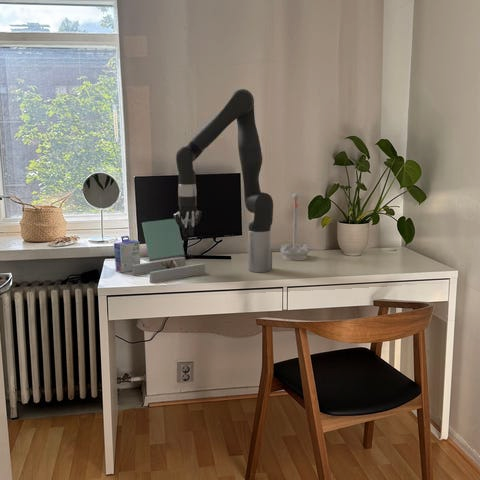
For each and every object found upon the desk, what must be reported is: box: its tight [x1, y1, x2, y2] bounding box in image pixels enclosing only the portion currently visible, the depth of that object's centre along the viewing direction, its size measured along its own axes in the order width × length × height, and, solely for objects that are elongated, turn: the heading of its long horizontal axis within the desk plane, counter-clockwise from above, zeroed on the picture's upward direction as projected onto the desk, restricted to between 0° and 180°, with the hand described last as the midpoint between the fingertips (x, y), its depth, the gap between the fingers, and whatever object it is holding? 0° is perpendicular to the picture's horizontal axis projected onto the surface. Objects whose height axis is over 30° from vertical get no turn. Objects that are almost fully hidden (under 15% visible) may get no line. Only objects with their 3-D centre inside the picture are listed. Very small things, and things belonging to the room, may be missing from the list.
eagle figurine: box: [161, 260, 177, 269], centre depth 258 cm, size 8×7×9 cm
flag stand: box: [280, 192, 310, 261], centre depth 285 cm, size 13×13×30 cm
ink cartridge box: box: [113, 235, 141, 273], centre depth 265 cm, size 10×6×14 cm, turn 131°
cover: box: [141, 218, 186, 262], centre depth 267 cm, size 17×17×1 cm
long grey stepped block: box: [131, 256, 206, 284], centre depth 258 cm, size 25×17×4 cm
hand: (188, 235), depth 261 cm, fingers closed
